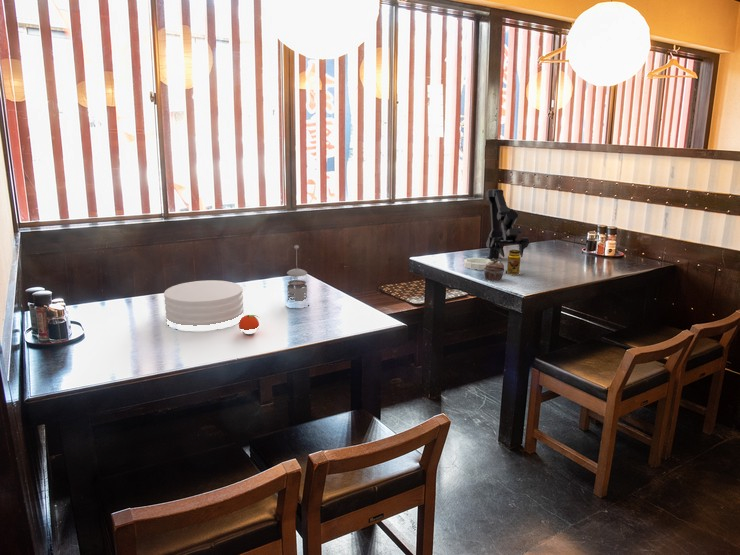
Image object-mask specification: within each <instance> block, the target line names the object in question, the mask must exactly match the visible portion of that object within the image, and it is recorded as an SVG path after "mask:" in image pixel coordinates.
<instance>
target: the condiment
mask: <svg viewBox="0 0 740 555" xmlns="http://www.w3.org/2000/svg"><path fill="white" fill-rule="evenodd" d="M506 264H507V265H506V266H507V267H506V271H507V273H508V274H512V275H513V276H519V275H518V274H519V273H520V275H523V272H522V273H521V272H520V266H521V255H520V251H519V249H510V250H509V251H508V256H507V263H506ZM508 274H507V275H508Z"/></svg>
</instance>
